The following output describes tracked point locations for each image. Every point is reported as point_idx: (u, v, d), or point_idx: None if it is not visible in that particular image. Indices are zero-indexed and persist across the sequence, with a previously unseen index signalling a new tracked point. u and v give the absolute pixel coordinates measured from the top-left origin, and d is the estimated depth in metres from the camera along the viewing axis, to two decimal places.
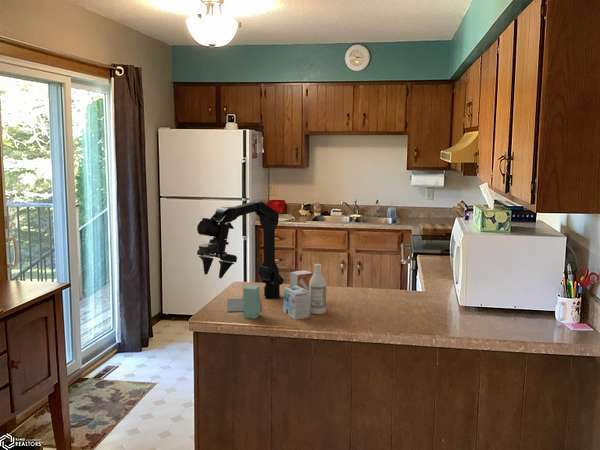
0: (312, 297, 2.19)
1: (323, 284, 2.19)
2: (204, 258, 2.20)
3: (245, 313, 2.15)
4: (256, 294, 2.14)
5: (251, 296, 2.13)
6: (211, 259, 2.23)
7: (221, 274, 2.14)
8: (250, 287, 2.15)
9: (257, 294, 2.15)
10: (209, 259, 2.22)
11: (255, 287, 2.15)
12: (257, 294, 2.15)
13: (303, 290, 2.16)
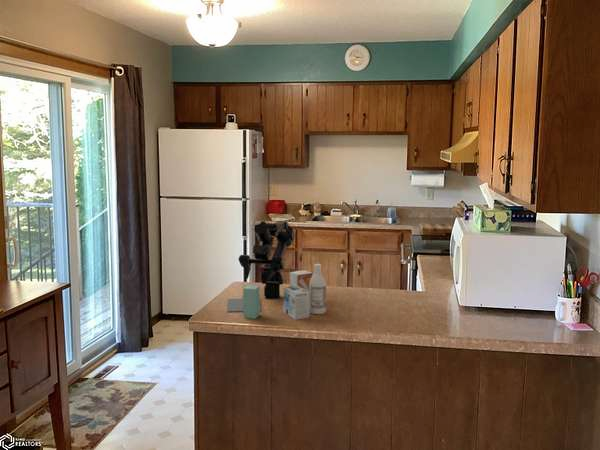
0: (312, 297, 2.19)
1: (323, 284, 2.19)
2: (247, 263, 2.26)
3: (245, 313, 2.15)
4: (256, 294, 2.14)
5: (251, 296, 2.13)
6: None
7: (270, 276, 2.22)
8: (250, 287, 2.15)
9: (257, 294, 2.15)
10: (249, 266, 2.28)
11: (255, 287, 2.15)
12: (257, 294, 2.15)
13: (303, 290, 2.16)
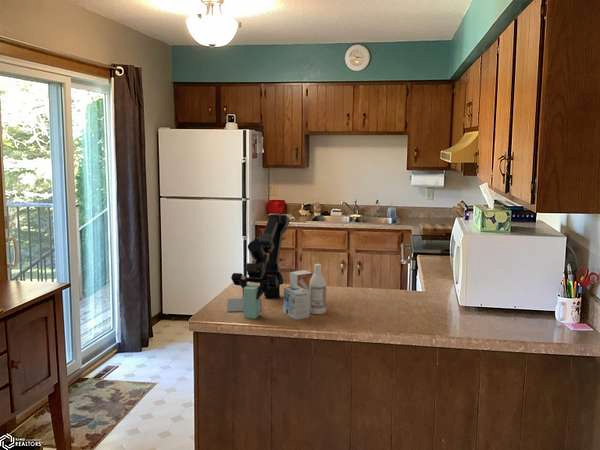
0: (312, 297, 2.19)
1: (323, 284, 2.19)
2: (245, 282, 2.18)
3: (245, 313, 2.15)
4: (256, 294, 2.14)
5: (251, 296, 2.13)
6: None
7: (259, 295, 2.15)
8: (250, 287, 2.15)
9: None
10: None
11: (255, 287, 2.15)
12: None
13: (303, 290, 2.16)
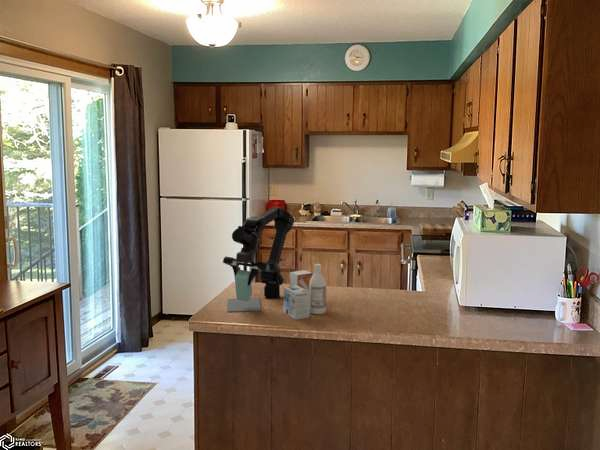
0: (312, 297, 2.19)
1: (323, 284, 2.19)
2: (236, 267, 2.23)
3: (238, 296, 2.25)
4: (247, 282, 2.21)
5: (242, 284, 2.21)
6: (239, 268, 2.26)
7: (250, 281, 2.22)
8: (241, 274, 2.21)
9: None
10: (238, 268, 2.25)
11: (246, 275, 2.20)
12: (248, 280, 2.22)
13: (303, 290, 2.16)
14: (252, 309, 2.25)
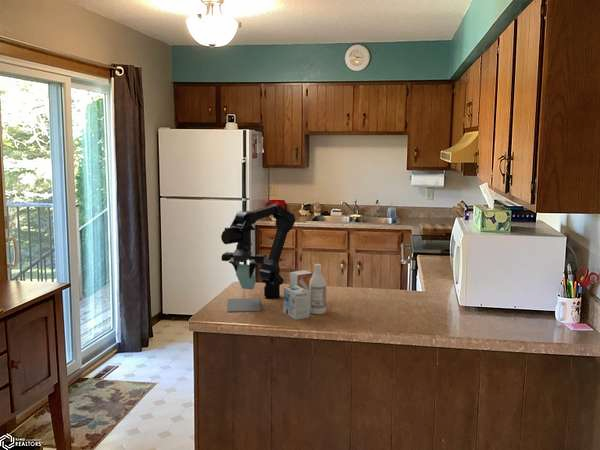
0: (312, 297, 2.19)
1: (323, 284, 2.19)
2: (235, 263, 2.29)
3: (243, 286, 2.35)
4: (248, 276, 2.29)
5: (244, 278, 2.29)
6: (238, 261, 2.33)
7: (251, 274, 2.30)
8: (241, 270, 2.28)
9: None
10: (238, 262, 2.32)
11: (247, 270, 2.28)
12: None
13: (303, 290, 2.16)
14: (252, 309, 2.25)
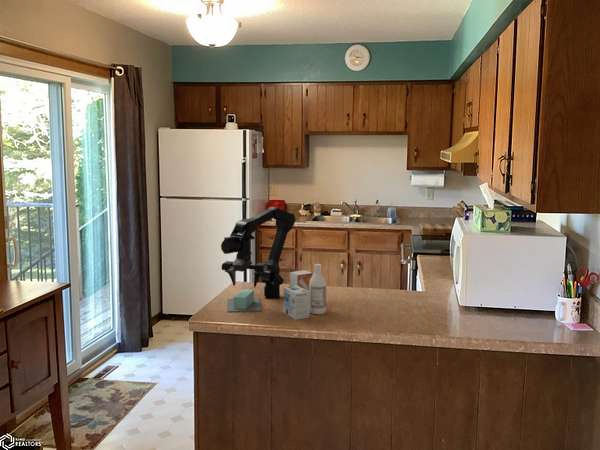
0: (312, 297, 2.19)
1: (323, 284, 2.19)
2: (231, 272, 2.30)
3: None
4: (246, 306, 2.27)
5: None
6: None
7: (256, 283, 2.30)
8: (238, 304, 2.25)
9: (247, 303, 2.27)
10: (233, 270, 2.33)
11: (243, 304, 2.25)
12: (247, 301, 2.27)
13: (303, 290, 2.16)
14: (252, 309, 2.25)
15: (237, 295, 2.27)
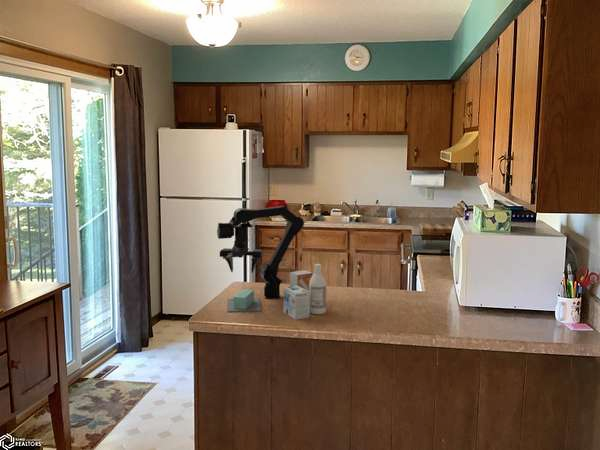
0: (312, 297, 2.19)
1: (323, 284, 2.19)
2: (229, 258, 2.37)
3: None
4: (246, 306, 2.27)
5: None
6: (232, 256, 2.41)
7: (253, 269, 2.37)
8: (238, 304, 2.25)
9: (247, 303, 2.27)
10: (231, 257, 2.40)
11: (243, 304, 2.25)
12: (247, 301, 2.27)
13: (303, 290, 2.16)
14: (252, 309, 2.25)
15: (237, 295, 2.27)
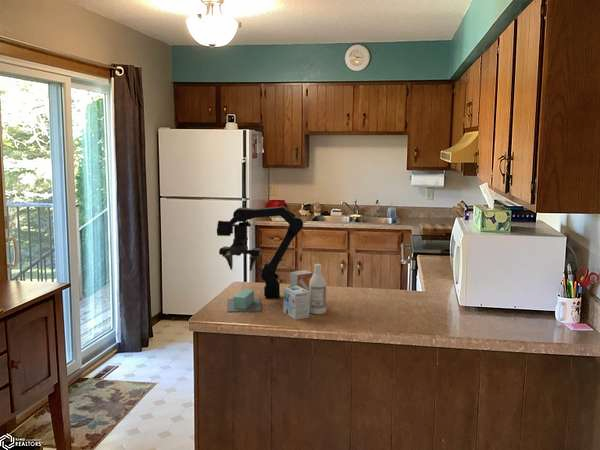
0: (312, 297, 2.19)
1: (323, 284, 2.19)
2: (228, 256, 2.42)
3: None
4: (246, 306, 2.27)
5: None
6: (231, 255, 2.46)
7: (252, 267, 2.42)
8: (238, 304, 2.25)
9: (247, 303, 2.27)
10: (230, 255, 2.45)
11: (243, 304, 2.25)
12: (247, 301, 2.27)
13: (303, 290, 2.16)
14: (252, 309, 2.25)
15: (237, 295, 2.27)
